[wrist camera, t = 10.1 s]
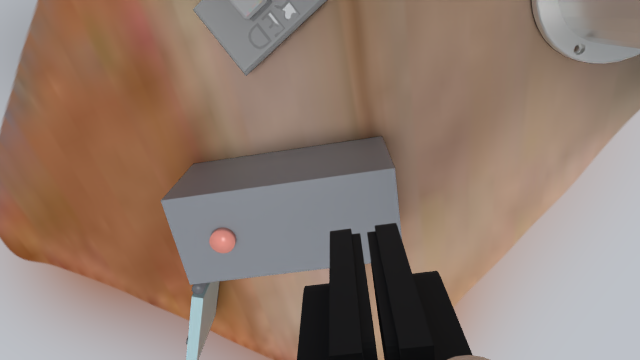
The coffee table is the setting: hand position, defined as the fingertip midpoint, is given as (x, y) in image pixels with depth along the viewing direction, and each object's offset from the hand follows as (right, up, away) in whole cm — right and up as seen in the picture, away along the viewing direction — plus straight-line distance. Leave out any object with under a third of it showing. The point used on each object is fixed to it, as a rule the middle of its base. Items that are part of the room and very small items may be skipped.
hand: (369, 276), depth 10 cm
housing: (-4, +2, +29) cm, 29 cm away
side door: (-13, -9, +32) cm, 36 cm away
